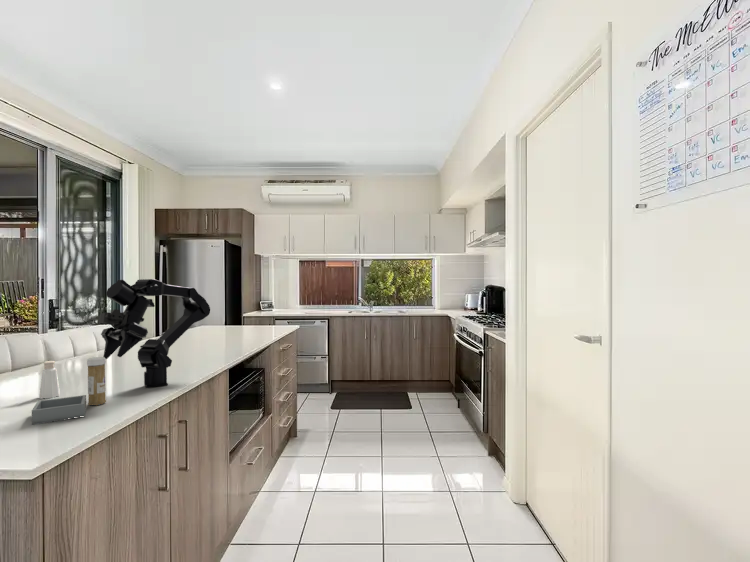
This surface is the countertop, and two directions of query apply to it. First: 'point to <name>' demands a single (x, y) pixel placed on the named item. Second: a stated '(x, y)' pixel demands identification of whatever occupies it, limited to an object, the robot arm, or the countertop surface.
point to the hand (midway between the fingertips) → (111, 357)
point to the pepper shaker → (49, 381)
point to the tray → (58, 409)
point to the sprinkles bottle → (96, 380)
